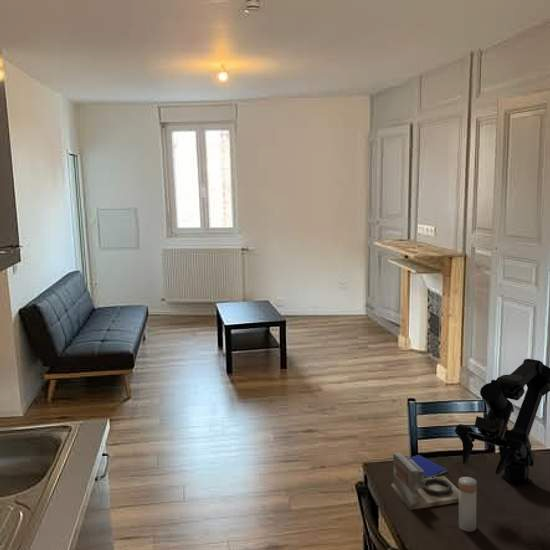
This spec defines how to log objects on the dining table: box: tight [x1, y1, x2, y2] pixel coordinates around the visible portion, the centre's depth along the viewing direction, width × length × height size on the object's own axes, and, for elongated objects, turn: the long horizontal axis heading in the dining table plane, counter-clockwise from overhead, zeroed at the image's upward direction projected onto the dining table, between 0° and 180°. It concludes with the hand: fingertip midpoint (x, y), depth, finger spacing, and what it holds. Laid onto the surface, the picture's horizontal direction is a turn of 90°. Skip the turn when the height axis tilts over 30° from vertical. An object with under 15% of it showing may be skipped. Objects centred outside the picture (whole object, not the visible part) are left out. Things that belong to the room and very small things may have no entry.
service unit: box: [391, 452, 459, 511], centre depth 167 cm, size 18×13×11 cm
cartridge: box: [457, 476, 478, 532], centre depth 150 cm, size 5×5×13 cm
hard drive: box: [406, 454, 448, 478], centre depth 184 cm, size 2×8×12 cm
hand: (480, 468), depth 154 cm, fingers open, 9 cm apart
